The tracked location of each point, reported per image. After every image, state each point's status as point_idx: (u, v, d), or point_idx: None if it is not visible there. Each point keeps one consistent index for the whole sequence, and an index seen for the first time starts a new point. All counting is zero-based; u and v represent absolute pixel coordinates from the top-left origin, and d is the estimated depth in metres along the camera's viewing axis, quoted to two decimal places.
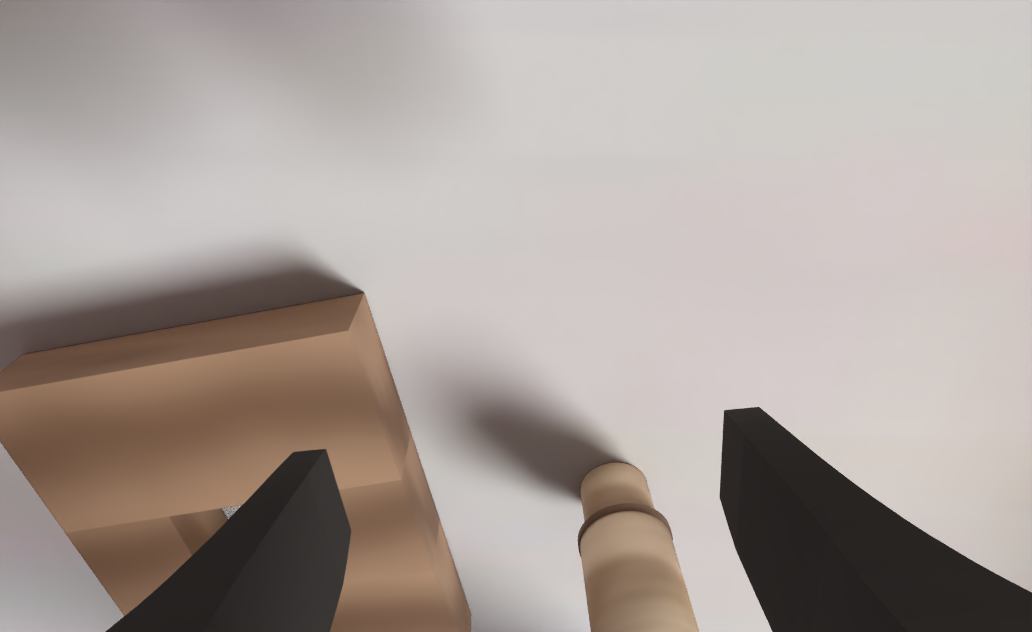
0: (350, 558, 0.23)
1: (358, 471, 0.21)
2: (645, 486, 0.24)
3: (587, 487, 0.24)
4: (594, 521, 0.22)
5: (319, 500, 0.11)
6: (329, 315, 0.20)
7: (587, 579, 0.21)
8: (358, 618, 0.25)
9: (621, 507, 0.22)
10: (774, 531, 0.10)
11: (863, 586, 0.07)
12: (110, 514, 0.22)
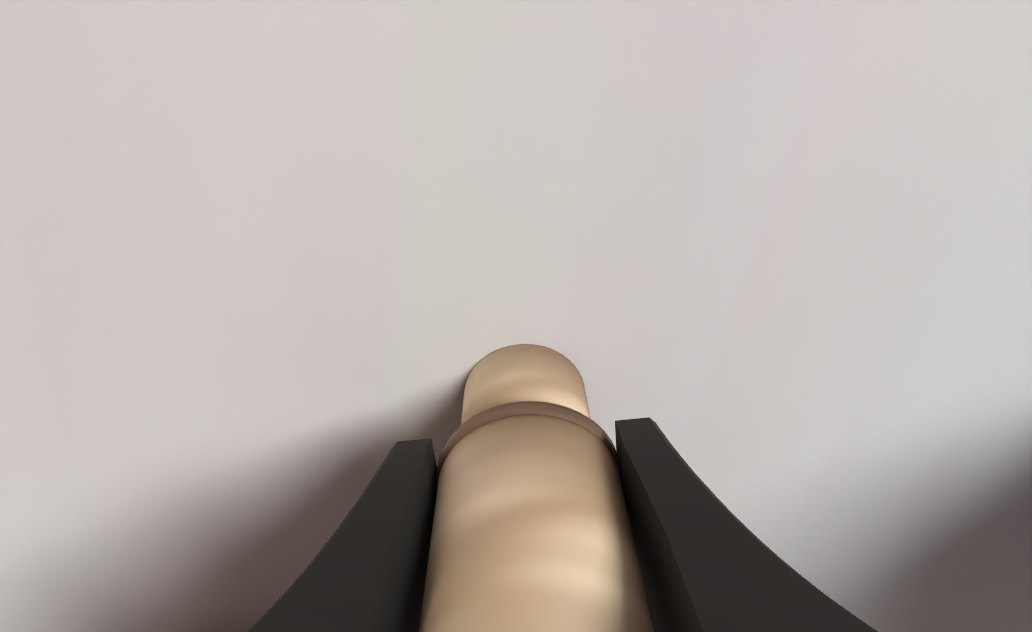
0: None
1: None
2: (489, 374, 0.13)
3: None
4: None
5: (429, 489, 0.11)
6: None
7: None
8: None
9: None
10: (646, 543, 0.10)
11: (690, 601, 0.07)
12: None
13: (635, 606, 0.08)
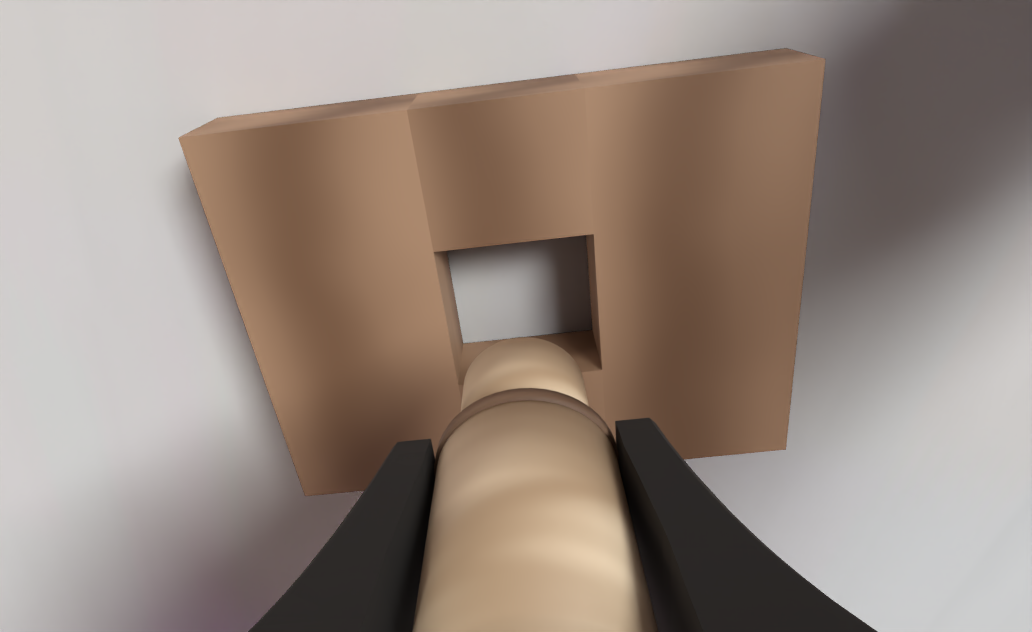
0: (545, 202, 0.17)
1: (390, 164, 0.17)
2: (489, 365, 0.13)
3: None
4: None
5: (429, 489, 0.11)
6: None
7: None
8: (666, 213, 0.17)
9: (435, 477, 0.12)
10: (646, 542, 0.10)
11: (690, 601, 0.07)
12: None
13: (635, 585, 0.08)
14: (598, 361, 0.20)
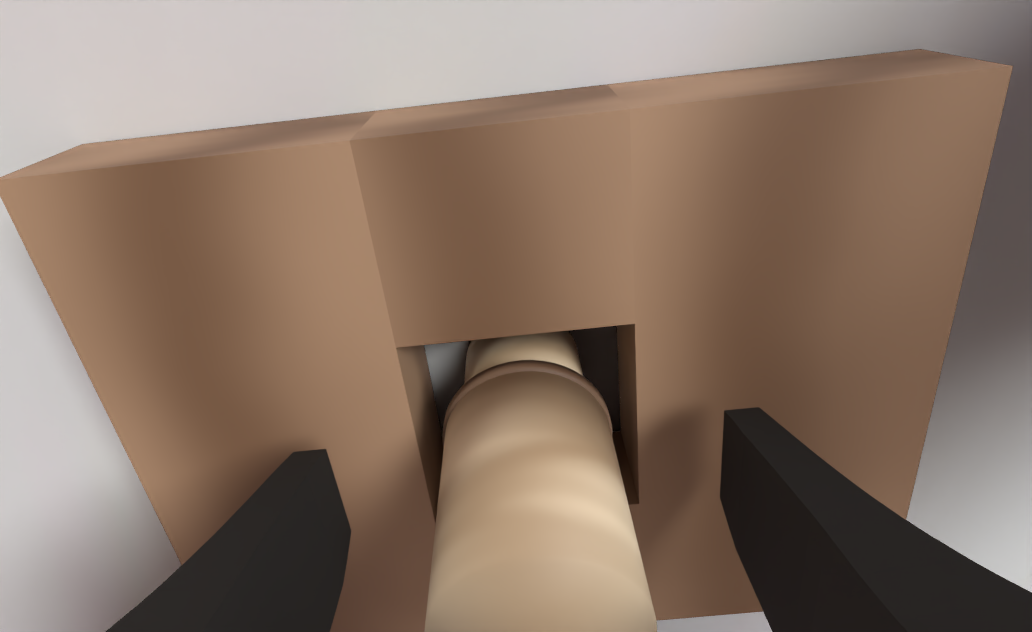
0: (564, 279, 0.11)
1: (327, 222, 0.11)
2: (491, 338, 0.14)
3: None
4: None
5: (319, 500, 0.11)
6: None
7: None
8: (745, 294, 0.12)
9: (443, 441, 0.13)
10: (774, 531, 0.10)
11: (863, 586, 0.07)
12: (427, 584, 0.15)
13: (625, 532, 0.09)
14: (632, 487, 0.14)
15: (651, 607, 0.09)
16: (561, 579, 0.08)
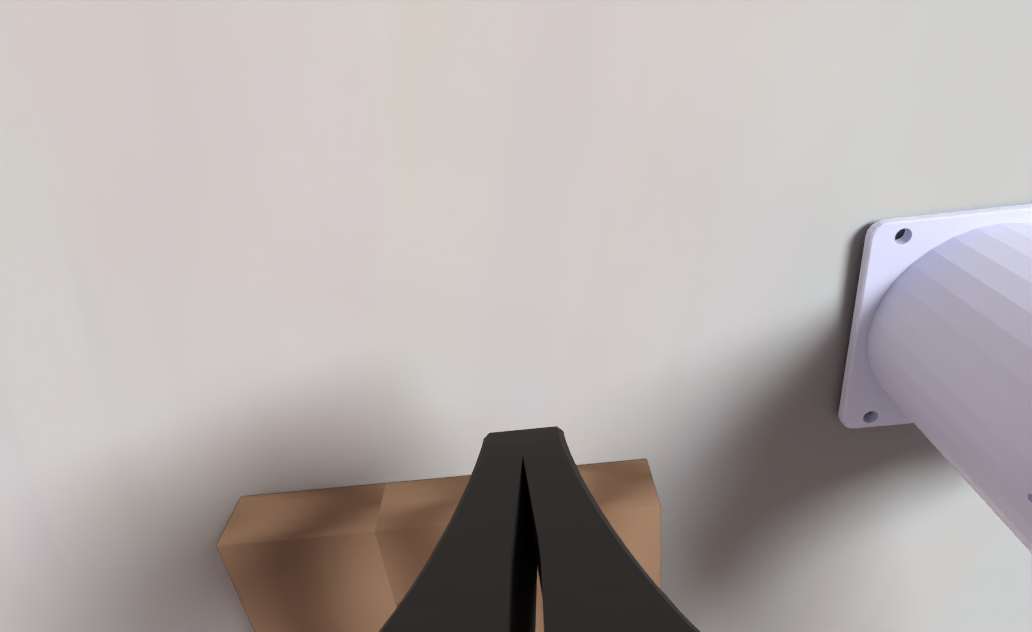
0: None
1: (364, 559, 0.24)
2: None
3: None
4: None
5: None
6: None
7: None
8: None
9: None
10: (537, 552, 0.10)
11: None
12: None
13: None
14: None
15: None
16: None
